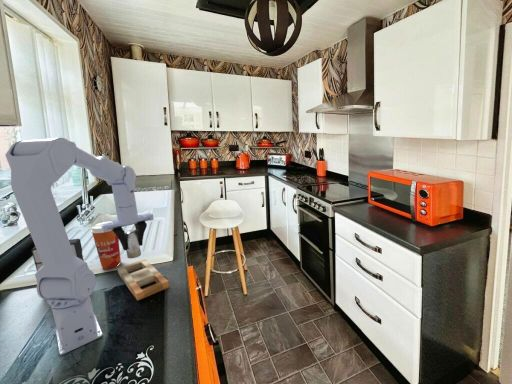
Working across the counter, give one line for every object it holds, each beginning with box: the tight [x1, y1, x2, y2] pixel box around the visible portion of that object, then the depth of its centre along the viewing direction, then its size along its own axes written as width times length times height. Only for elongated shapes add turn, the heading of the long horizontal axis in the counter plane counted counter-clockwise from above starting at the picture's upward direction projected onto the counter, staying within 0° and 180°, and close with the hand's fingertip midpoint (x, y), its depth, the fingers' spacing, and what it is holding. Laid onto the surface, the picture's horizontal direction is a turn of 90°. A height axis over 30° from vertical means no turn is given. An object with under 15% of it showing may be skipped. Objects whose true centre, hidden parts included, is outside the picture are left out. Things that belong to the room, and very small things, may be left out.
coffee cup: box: [90, 220, 122, 270], centre depth 93 cm, size 8×8×15 cm
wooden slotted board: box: [116, 259, 170, 302], centre depth 83 cm, size 20×9×2 cm, turn 40°
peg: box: [124, 229, 142, 260], centre depth 84 cm, size 4×4×8 cm
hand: (132, 247), depth 84 cm, fingers closed on peg, 4 cm apart
